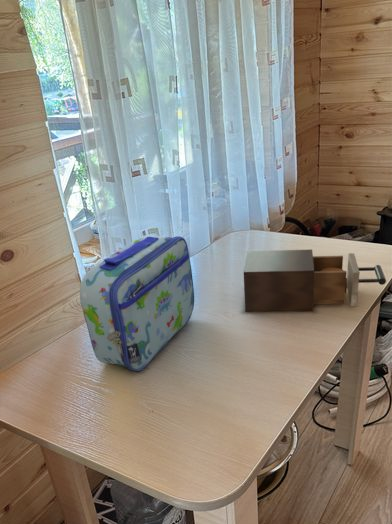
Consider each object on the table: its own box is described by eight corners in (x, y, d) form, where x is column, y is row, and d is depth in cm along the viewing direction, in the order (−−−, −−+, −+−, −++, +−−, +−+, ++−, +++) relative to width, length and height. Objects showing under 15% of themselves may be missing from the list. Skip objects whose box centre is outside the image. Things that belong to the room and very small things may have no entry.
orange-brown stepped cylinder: (345, 284, 116) (346, 266, 114) (347, 297, 111) (349, 278, 108) (316, 285, 117) (316, 266, 115) (317, 297, 112) (318, 278, 110)
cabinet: (310, 288, 121) (312, 249, 116) (312, 311, 111) (314, 270, 106) (248, 289, 123) (247, 251, 118) (245, 312, 114) (243, 272, 109)
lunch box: (134, 384, 94) (115, 279, 83) (89, 371, 99) (65, 271, 88) (203, 318, 113) (194, 226, 102) (162, 310, 118) (149, 221, 107)
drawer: (377, 284, 117) (381, 252, 113) (384, 305, 108) (388, 271, 104) (291, 285, 120) (292, 254, 116) (292, 306, 112) (292, 273, 108)
